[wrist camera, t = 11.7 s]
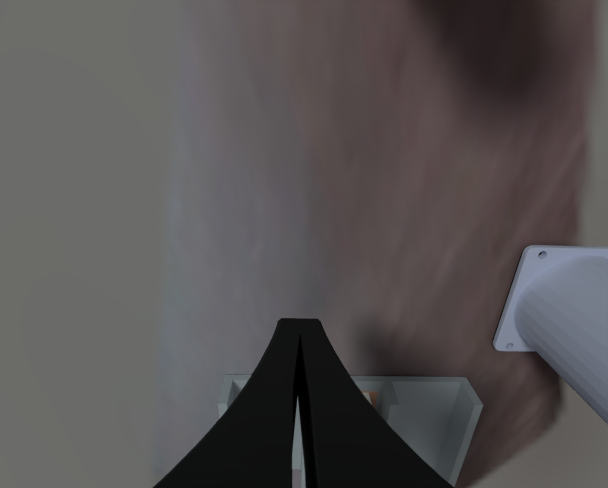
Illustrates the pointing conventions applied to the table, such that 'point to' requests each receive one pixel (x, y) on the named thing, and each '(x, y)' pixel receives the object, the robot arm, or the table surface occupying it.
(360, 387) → the rack
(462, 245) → the table surface
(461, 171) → the table surface
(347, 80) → the table surface
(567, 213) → the table surface
